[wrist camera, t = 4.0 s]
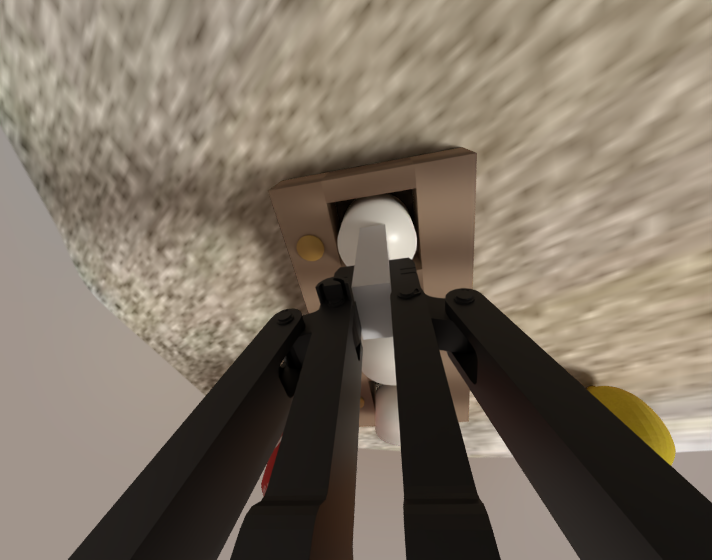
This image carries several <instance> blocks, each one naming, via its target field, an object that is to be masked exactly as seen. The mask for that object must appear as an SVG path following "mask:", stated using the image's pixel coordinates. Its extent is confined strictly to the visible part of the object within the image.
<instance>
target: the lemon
mask: <svg viewBox="0 0 712 560" xmlns="http://www.w3.org/2000/svg"><path fill="white" fill-rule="evenodd" d="M587 390H588V391H589V392H590V393H591V394H592V395H594V396H595V397H596V398H597V399H598V400H599V401H600V402H601V403H602V404H603V405H605V406H606V407H607V408H608V409H609V410H610V411H611V412H612V413H613V414H614V415H616V416H617V417H618V418H619V419H620V420H621V421H622V422H623V423H624V424H625V425H627V426H628V427H629V428H630V429H631V430H632V431H633V432H634V433H635V434H636V435H638V436H639V437H640V438H641V439H642V440H643V441H644V442H645V443H646V444H647V445H649V446H650V447H651V448H652V449H653V450H654V451H655V452H656V453H657V454H658V455H660V456H661V457H662V458H663V459H664V460H665V461H666V462H667V463H668V464H669V465H672V463H673V461H674V458H675V445H674V442H673V439H672V437H671V435H670V433H669V431H668V429H667V427H666V426H665V424H664V423H663V421H662V420H661V419H660V417H659V416H658V415H657V414H656V413H655V412H654V411H653V410H652V409H651V408H650V407H649V406H648V405H647V404H646V403H645V402H643V401H642V400H641V399H640V398H638V397H637V396H635V395H633V394H631V393H629V392H627V391H625V390H622V389H620V388H616V387H610V386H597V387H595V386H589V387H587Z"/></svg>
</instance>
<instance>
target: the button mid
mask: <svg viewBox="0 0 712 560" xmlns="http://www.w3.org/2000/svg"><path fill="white" fill-rule="evenodd" d="M361 342H362V346H363V357H362V372H363V373H364V374H365V375H366V376H367V377H368V378H369V379H371V380H373V381H375V382H377V383H380V384H384V385H396V373H395V359H394V345H393V337H387V338H377V339H366V340H363V337H362V332H361Z"/></svg>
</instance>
